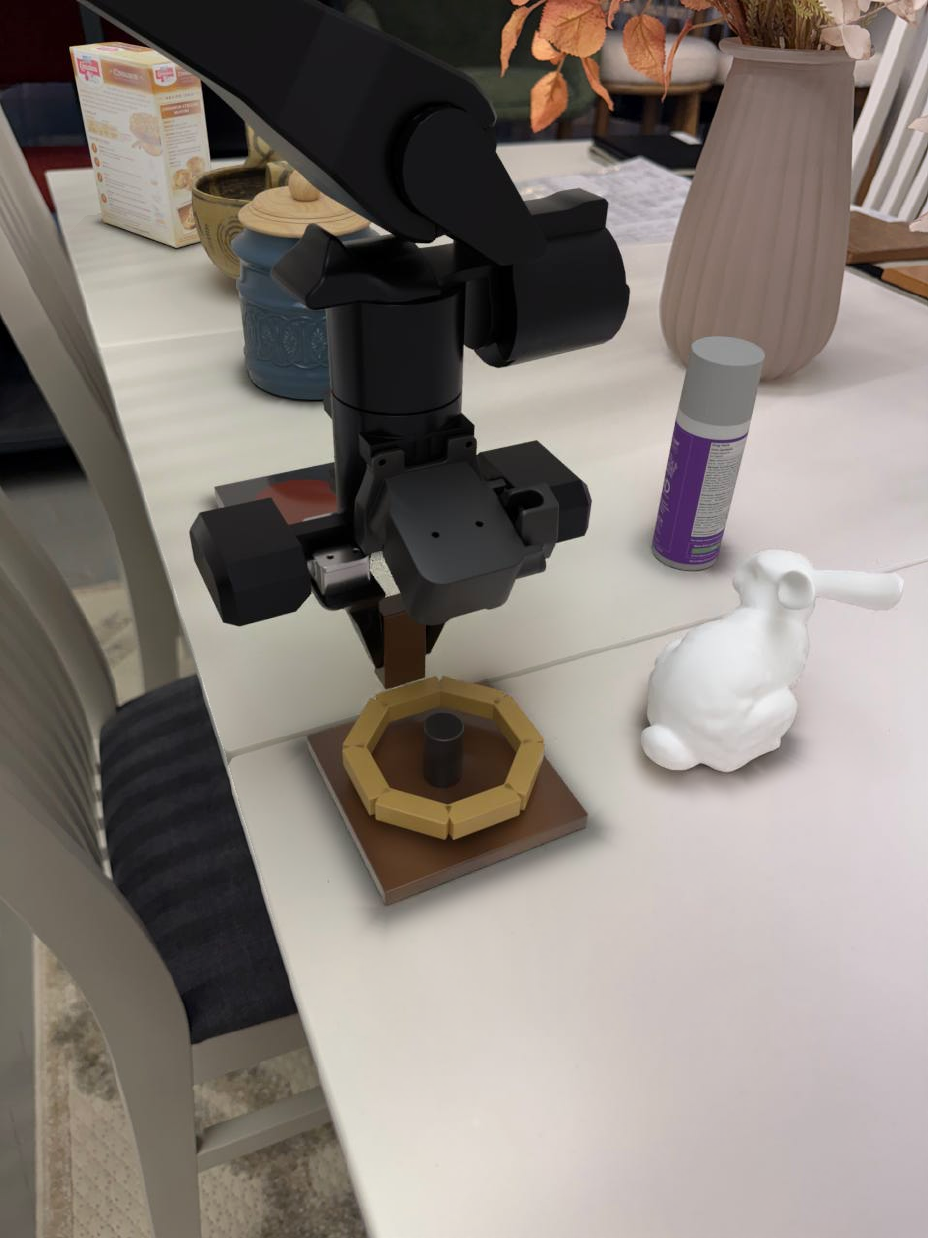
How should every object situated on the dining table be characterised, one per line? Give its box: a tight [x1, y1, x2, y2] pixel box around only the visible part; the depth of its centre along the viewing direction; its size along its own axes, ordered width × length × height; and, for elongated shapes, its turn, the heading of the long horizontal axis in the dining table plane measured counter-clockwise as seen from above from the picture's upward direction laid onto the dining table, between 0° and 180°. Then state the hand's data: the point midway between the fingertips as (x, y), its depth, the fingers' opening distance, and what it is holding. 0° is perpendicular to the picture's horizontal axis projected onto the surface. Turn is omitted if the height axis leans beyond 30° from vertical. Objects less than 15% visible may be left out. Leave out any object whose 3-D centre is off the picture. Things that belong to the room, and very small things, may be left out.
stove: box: [213, 461, 337, 525], centre depth 68 cm, size 10×10×2 cm
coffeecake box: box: [69, 41, 213, 249], centre depth 113 cm, size 15×7×20 cm, turn 51°
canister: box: [231, 170, 381, 401], centre depth 83 cm, size 13×13×18 cm
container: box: [651, 335, 766, 572], centre depth 63 cm, size 5×5×15 cm
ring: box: [342, 592, 546, 840], centre depth 47 cm, size 10×11×6 cm
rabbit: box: [640, 549, 905, 773], centre depth 49 cm, size 12×9×12 cm
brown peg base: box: [306, 678, 589, 906], centre depth 48 cm, size 11×11×4 cm
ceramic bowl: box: [191, 121, 295, 282], centre depth 101 cm, size 22×17×15 cm
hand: (399, 657), depth 51 cm, fingers closed on ring, 2 cm apart
